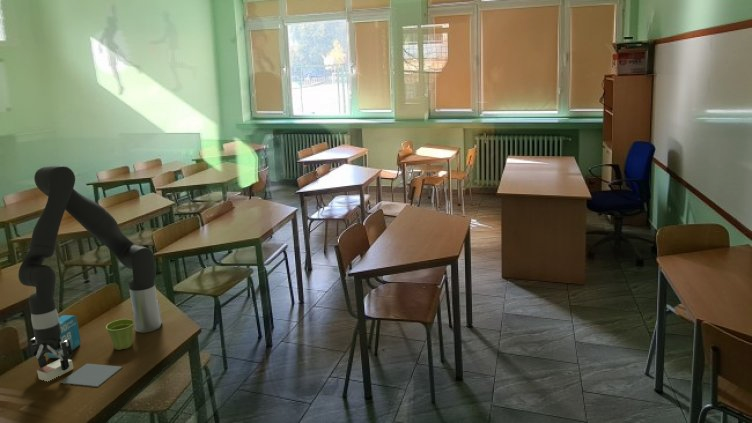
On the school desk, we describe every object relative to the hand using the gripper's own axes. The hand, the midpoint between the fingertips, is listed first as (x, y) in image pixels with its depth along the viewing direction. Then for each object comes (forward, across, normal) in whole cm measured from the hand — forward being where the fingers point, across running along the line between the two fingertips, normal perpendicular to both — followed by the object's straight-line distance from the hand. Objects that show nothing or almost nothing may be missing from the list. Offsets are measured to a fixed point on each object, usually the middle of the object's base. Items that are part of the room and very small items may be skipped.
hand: (54, 368), depth 184 cm
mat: (+2, -13, -1) cm, 13 cm away
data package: (+2, +9, -14) cm, 17 cm away
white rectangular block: (+2, 0, 0) cm, 2 cm away
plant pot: (+2, -10, -21) cm, 24 cm away
